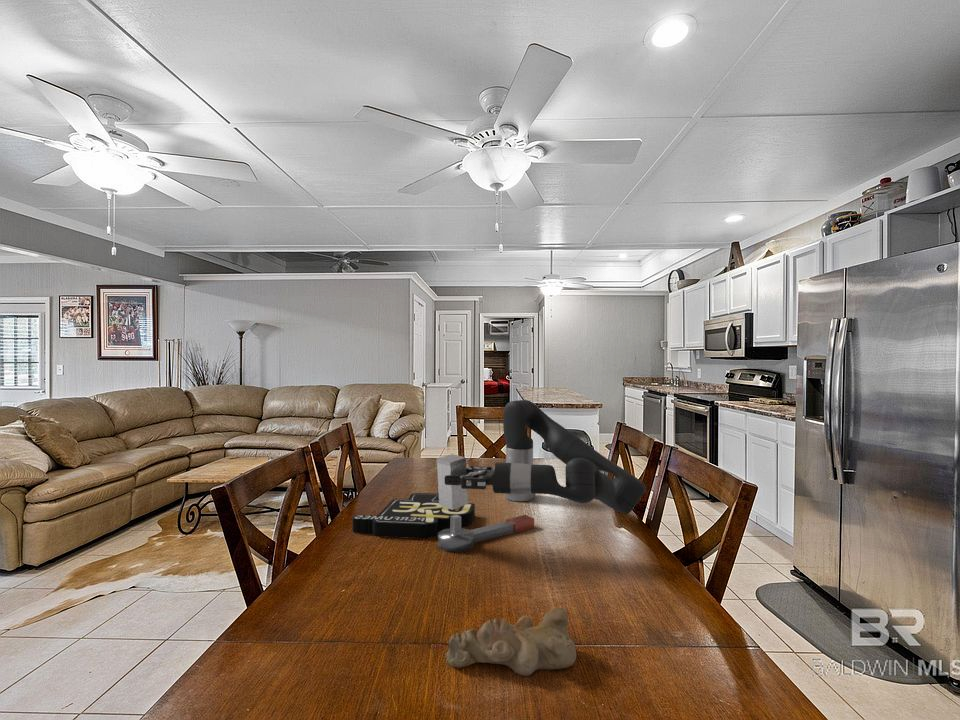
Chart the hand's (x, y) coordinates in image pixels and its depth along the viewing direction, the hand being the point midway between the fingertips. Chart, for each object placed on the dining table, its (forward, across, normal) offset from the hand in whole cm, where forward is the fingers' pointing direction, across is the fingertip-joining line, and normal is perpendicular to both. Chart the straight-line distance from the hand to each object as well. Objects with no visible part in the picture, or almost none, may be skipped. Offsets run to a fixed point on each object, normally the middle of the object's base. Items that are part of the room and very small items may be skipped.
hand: (448, 476), depth 122 cm
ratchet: (-9, +7, -17) cm, 21 cm away
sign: (+12, +18, -18) cm, 28 cm away
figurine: (-19, -44, -18) cm, 51 cm away
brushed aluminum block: (-1, +1, -7) cm, 7 cm away
